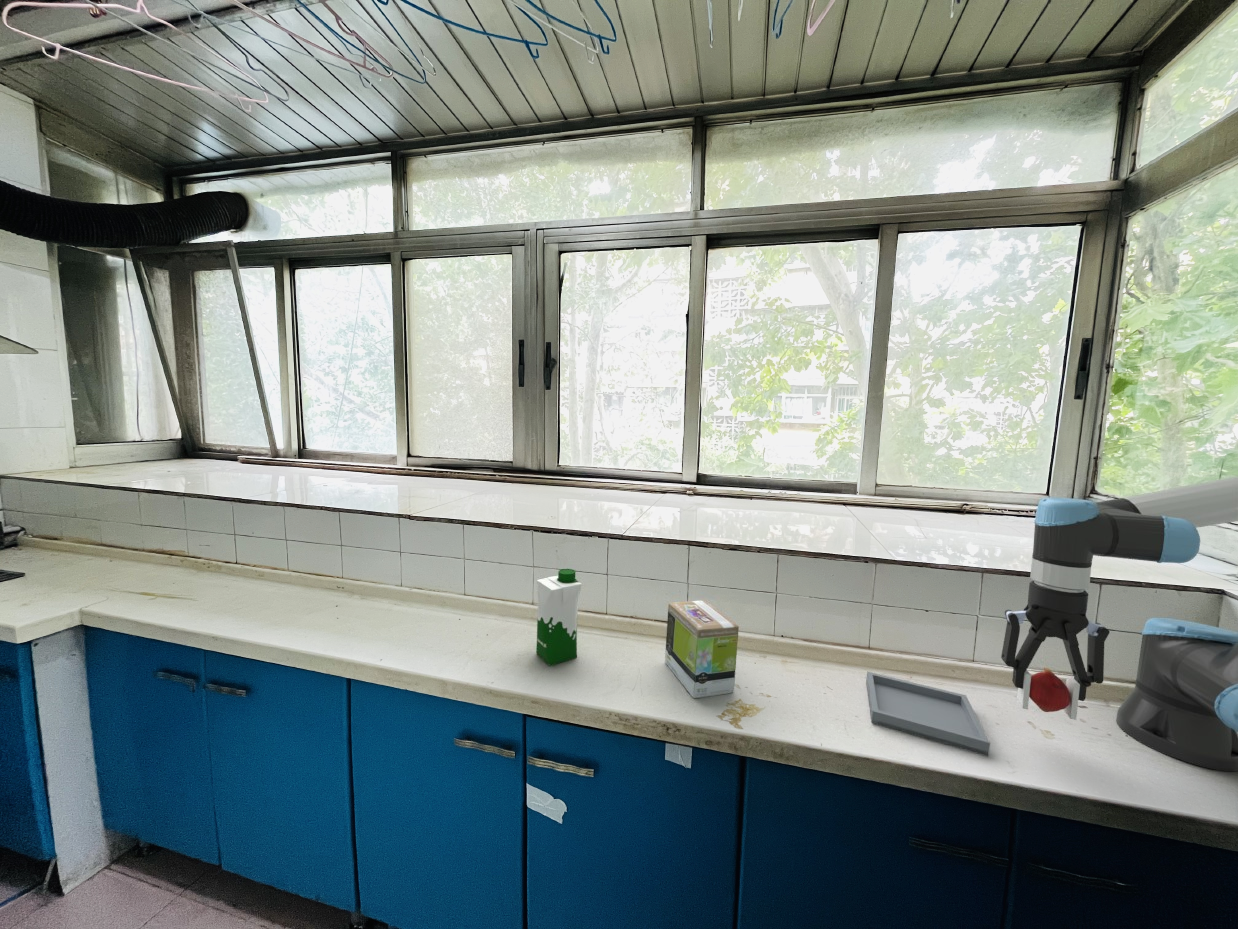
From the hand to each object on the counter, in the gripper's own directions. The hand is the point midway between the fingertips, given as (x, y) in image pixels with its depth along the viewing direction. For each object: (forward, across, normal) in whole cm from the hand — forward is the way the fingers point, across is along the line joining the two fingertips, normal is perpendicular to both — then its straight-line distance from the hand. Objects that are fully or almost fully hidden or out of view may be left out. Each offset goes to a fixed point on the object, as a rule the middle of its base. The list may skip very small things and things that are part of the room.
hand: (1045, 709), depth 82 cm
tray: (+7, +19, 0) cm, 20 cm away
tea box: (+6, +62, +9) cm, 63 cm away
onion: (+1, 0, 0) cm, 1 cm away
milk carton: (+5, +94, +17) cm, 95 cm away
